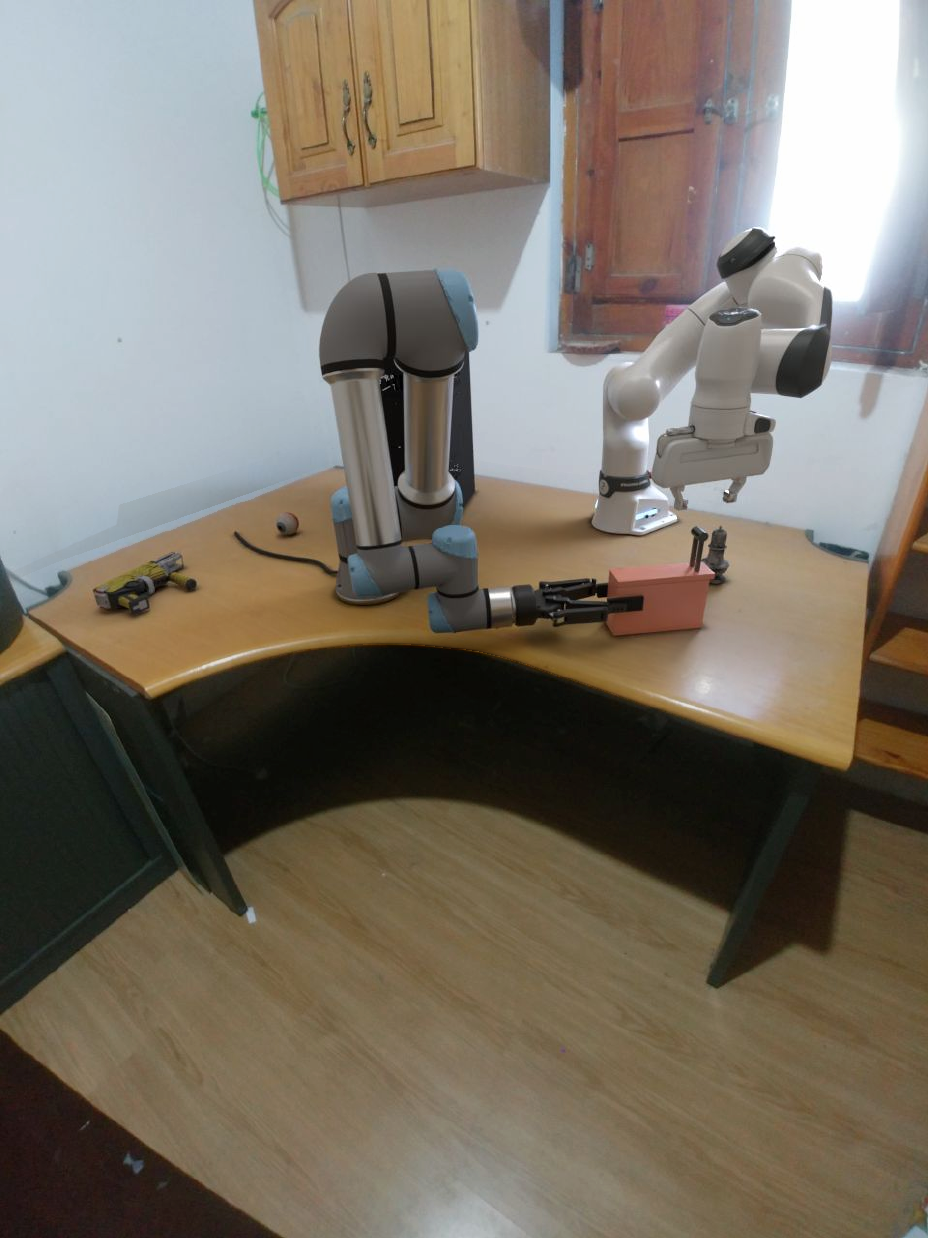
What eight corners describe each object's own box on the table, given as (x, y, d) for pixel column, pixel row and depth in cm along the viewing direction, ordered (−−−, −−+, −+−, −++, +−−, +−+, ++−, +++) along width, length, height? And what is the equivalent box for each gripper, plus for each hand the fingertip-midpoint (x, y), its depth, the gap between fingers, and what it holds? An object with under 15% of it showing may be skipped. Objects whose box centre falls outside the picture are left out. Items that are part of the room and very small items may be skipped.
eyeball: (273, 537, 164) (268, 516, 161) (287, 528, 169) (282, 508, 166) (291, 539, 161) (286, 518, 158) (305, 530, 166) (301, 510, 163)
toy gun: (220, 560, 144) (169, 549, 148) (142, 602, 124) (86, 589, 128) (223, 577, 146) (173, 566, 150) (147, 622, 126) (91, 608, 130)
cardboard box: (444, 537, 157) (431, 349, 135) (371, 534, 162) (346, 352, 139) (475, 491, 189) (468, 332, 166) (413, 489, 193) (398, 335, 171)
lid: (701, 566, 112) (708, 522, 108) (714, 579, 108) (722, 533, 103) (608, 574, 112) (612, 530, 107) (617, 587, 107) (621, 541, 103)
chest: (689, 613, 117) (697, 567, 112) (701, 627, 113) (709, 579, 108) (604, 621, 117) (608, 574, 112) (613, 635, 112) (617, 587, 107)
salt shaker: (728, 584, 127) (739, 531, 121) (699, 583, 128) (707, 530, 122) (724, 572, 132) (733, 520, 126) (695, 571, 133) (703, 519, 127)
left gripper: (505, 601, 120) (619, 590, 121) (521, 650, 104) (652, 638, 105) (504, 566, 116) (622, 556, 117) (521, 613, 100) (657, 600, 101)
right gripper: (669, 434, 92) (659, 519, 99) (785, 419, 96) (768, 503, 103) (648, 425, 97) (640, 507, 104) (759, 412, 101) (744, 492, 108)
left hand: (636, 595), depth 111 cm, fingers closed on chest, 5 cm apart
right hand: (704, 505), depth 103 cm, fingers open, 8 cm apart
